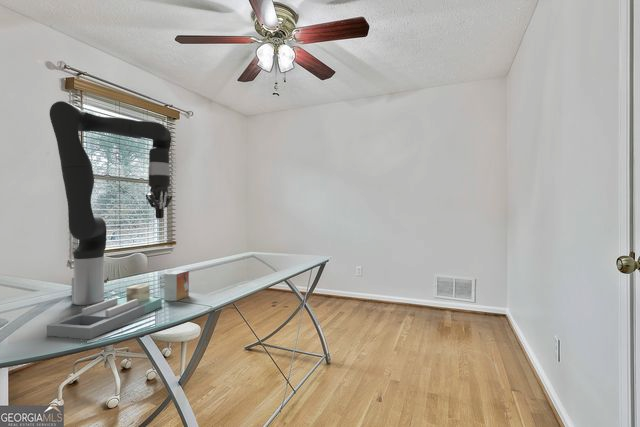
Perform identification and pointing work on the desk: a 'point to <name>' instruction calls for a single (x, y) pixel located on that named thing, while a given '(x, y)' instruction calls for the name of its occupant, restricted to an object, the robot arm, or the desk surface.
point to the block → (138, 293)
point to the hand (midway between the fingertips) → (159, 218)
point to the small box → (176, 285)
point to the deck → (102, 318)
